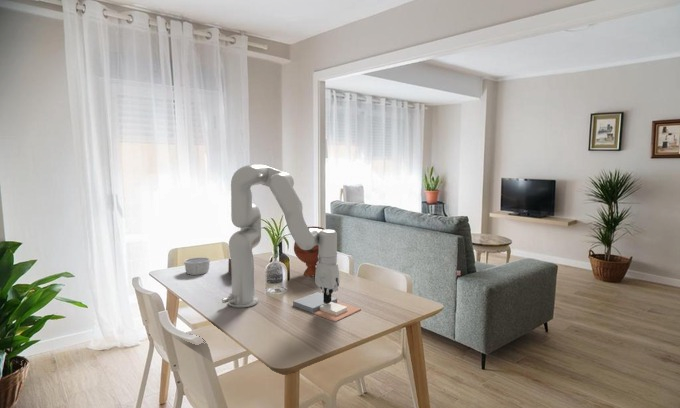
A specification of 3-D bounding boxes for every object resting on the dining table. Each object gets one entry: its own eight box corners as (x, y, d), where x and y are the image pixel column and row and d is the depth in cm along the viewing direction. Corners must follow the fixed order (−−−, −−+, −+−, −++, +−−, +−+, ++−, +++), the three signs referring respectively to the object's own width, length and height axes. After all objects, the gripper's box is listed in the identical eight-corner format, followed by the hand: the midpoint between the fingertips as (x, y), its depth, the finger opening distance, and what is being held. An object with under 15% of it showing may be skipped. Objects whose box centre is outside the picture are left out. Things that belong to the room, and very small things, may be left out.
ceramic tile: (336, 315, 153) (336, 312, 153) (319, 309, 159) (319, 306, 159) (347, 310, 159) (347, 307, 159) (331, 305, 164) (331, 301, 164)
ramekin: (192, 268, 219) (192, 256, 218) (214, 269, 217) (214, 257, 216) (179, 275, 206) (179, 262, 205) (203, 276, 204) (202, 263, 203)
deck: (313, 313, 157) (313, 308, 157) (293, 305, 165) (293, 301, 164) (337, 302, 168) (337, 298, 168) (317, 296, 176) (317, 292, 176)
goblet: (292, 279, 201) (292, 231, 198) (295, 268, 220) (295, 225, 217) (329, 279, 201) (329, 232, 198) (329, 268, 220) (329, 225, 217)
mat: (335, 322, 148) (335, 321, 148) (313, 313, 156) (313, 312, 156) (360, 309, 160) (360, 309, 160) (338, 302, 168) (338, 301, 168)
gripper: (308, 258, 161) (308, 300, 164) (335, 264, 152) (334, 309, 154) (320, 255, 167) (320, 295, 169) (347, 261, 157) (346, 304, 160)
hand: (327, 302), depth 162 cm, fingers closed
